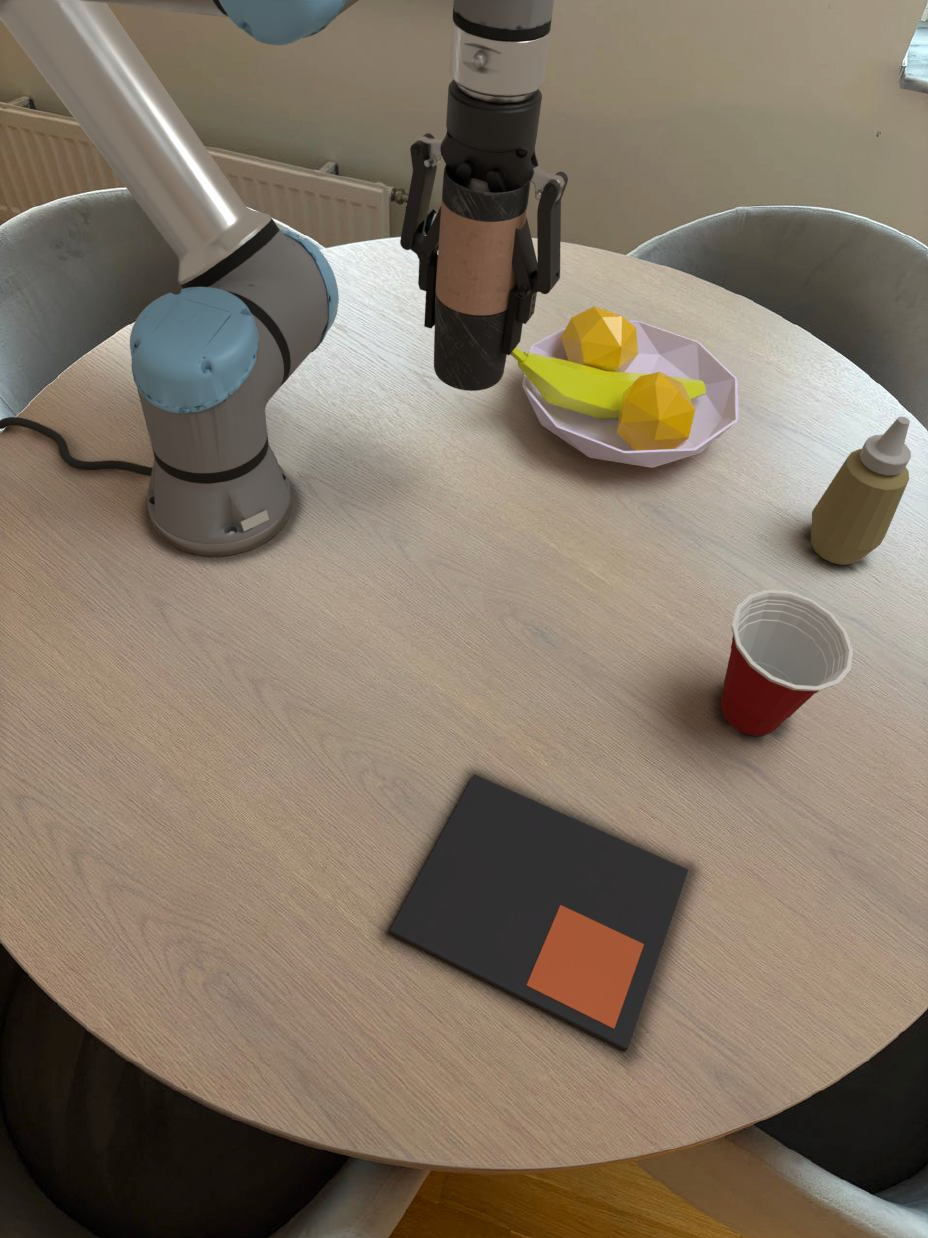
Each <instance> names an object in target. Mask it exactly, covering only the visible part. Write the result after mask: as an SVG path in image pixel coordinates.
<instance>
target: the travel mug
mask: <svg viewBox="0 0 928 1238" xmlns="http://www.w3.org/2000/svg"><path fill="white" fill-rule="evenodd" d="M452 180H453V178H452V176H451V174H450V172H449V169H448V167H447V165H446V164H445V166H444V169H443V175H442V190H441V205H440V207H441V218H440V233H439V247H438V261H437V276H436V292H435V325H434V329H433V330H434V332H433V333H434V336H433V338H434V339H433V341H434V342H433V370H434V373H435V375H436V377H437V379H439V380H440V381H441V382H442V383H444V384H446V385H447V386H448V387H451V388H454V389H457V390H460V391H467V392H477V391H484V390H487V389H490V388H493V387H494V386H496V385H498V383H499V382H500V381H501V380H502V378H503V376H504V372H505V367H506V361H507V356H508V355H507V354H504V353H502V351H503V343H504V335H505V327H506V319H507V311H508V303H509V295H510V291H511V290H512V289H513V288H514V286H515V285H516V284H517V281H516V277H515V273H514V269H513V265H512V256H513V248H514V239H515V230H516V228H517V229H522V228H523V226H524V224H525V221H526V216H527V215H528V206H529V197H530V190H531V183H532V182H531V181H529V182H528V183H527V184H526V185H525V186H524V187H521V188H519V189H517V190H514V191H510V192H503V193H491V192H490V191H489V188H488V184H487V182H485V181H482V180H478V179H474V178H471V179H470V181H469V183H468V185H466V186H465V187H464V186H461V185H458V184H456V183H455V182H453V181H452Z"/></svg>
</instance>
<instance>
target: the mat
mask: <svg viewBox="0 0 928 1238" xmlns="http://www.w3.org/2000/svg"><path fill="white" fill-rule="evenodd" d="M461 795H462V796H461V797H460V799H459V800H458V803H457V805H456V806H455V809H454V810H453V812H452V814H451V815H450V817H449V820H448V821H447V824H446V825H445V827H444V829H443V831H442V833H441V834H440V836H439V838H438V839H437V842H436V844H435V845H434V847H433V849H432V851H431V852H430V854H429V856H428V858H427V860H426V862H425V864H424V865H423V867H422V870H421V871H420V873H419V875H418V877H417V879H416V881H415V882H414V885H413V886H412V887H411V890H410V892H409V893H408V895H407V898H406V899H405V901H404V903H403V904H402V906H401V908H400V910H399V912H398V914H397V916H396V917H395V919H394V921H393V923H392V925H391V927H390V929H389V934H390V935H393V936H395V937H396V938H398V939H400V940H402V941H404V942H407V943H408V944H411V945H412V946H414V947H416V948H419V949H421V950H423V951H425V952H426V953H428V954H431V955H432V956H435V958H439V959H440V960H442V961H445V962H446V963H449V964H450V965H452V966H455V967H456V968H459V969H460V970H463V971H465V972H466V973H469V974H470V975H473V976H475V977H476V978H479V979H480V980H482V981H485V982H486V983H489V984H491V985H492V986H495V987H496V988H498V989H500V990H503V991H505V992H507V993H508V994H510V995H513V996H514V997H517V998H519V999H521V1000H522V1001H525V1002H526V1003H528V1004H531V1005H532V1006H534V1007H537V1008H538V1009H541V1010H542V1011H545V1012H547V1013H549V1014H551V1015H552V1016H555V1017H556V1018H559V1019H560V1020H563V1021H564V1022H566V1023H568V1024H571V1025H572V1026H574V1027H577V1028H579V1029H581V1030H583V1031H585V1032H586V1033H588V1034H591V1035H593V1036H595V1037H597V1038H598V1039H600V1040H602V1041H605V1042H606V1043H608V1044H611V1045H613V1046H614V1047H617V1048H619V1049H621V1050H623V1051H624V1052H627V1051H628V1050H629V1047H630V1043H631V1041H632V1038H633V1035H634V1032H635V1029H636V1026H637V1022H638V1021H639V1017H640V1015H641V1011H642V1008H643V1005H644V1002H645V1000H646V996H647V993H648V990H649V988H650V984H651V982H652V979H653V976H654V973H655V970H656V967H657V964H658V961H659V958H660V955H661V952H662V950H663V946H664V944H665V940H666V938H667V935H668V932H669V928H670V926H671V922H672V919H673V916H674V913H675V911H676V907H677V905H678V902H679V899H680V896H681V893H682V890H683V887H684V884H685V881H686V878H687V876H688V872H689V869H688V868H687V867H686V868H685V867H684V866H681V865H679V864H677V863H674V862H673V861H670V860H668V859H665V858H663V857H662V856H658V855H657V854H655V853H652V852H650V851H647V850H645V849H643V848H641V847H639V846H637V845H634V844H632V843H630V842H627V841H625V840H623V839H621V838H618V837H616V836H614V835H611V834H610V833H607V832H605V831H603V830H601V829H599V828H597V827H595V826H592V825H589V824H587V823H585V822H584V821H580V820H578V819H576V818H574V817H572V816H570V815H567V814H565V813H563V812H560V811H558V810H557V809H553V808H551V807H549V806H547V805H545V804H543V803H540V802H538V801H536V800H534V799H531V798H529V797H527V796H524V795H522V794H520V793H518V792H516V791H514V790H511V789H509V788H508V787H507V788H506V787H505V786H502V785H500V784H498V783H496V782H493V781H491V780H489V779H486V778H485V777H481V776H480V775H478V774H475V773H474V774H472V777H471V779H470V781H469V782H468V784H467V787H466V788H465V790H464V792H463V793H462V794H461Z"/></svg>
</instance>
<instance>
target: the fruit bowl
mask: <svg viewBox="0 0 928 1238" xmlns="http://www.w3.org/2000/svg"><path fill="white" fill-rule="evenodd" d="M509 356H511V357H513V358H514V359H515V360H516V362H517V367H519V369H520V370H521V371H522V373H523V378H522V384H521V386H522V388H523V390H524V393H525V394H526V397H527V399H528V400H529V402H530V404H531V405H530V406H531V407H532V409H533V411H534V414H535V415H536V418H537V419H538V422H539V424H540V425H541V426H542V427H544V428H545V429H547V431H549V432H551V433H553V434H554V435H555V436H556V437H558V438H560V439H561V440H562V441H564V442H565V443H567V444H568V445H570V446H572V447H573V448H574V449H576V450H577V451H579V452H581V453H582V454H583V455H585V456H586V457H587V458H589V459H596V460H601V461H608V462H613V463H614V462H615V463H620V464H625V465H626V464H627V465H631V466H638V467H645V468H651V469H653V468H656V467H657V468H658V467H660V466H664V465H667V464H669V463H672V462H676V461H679V460H683V459H686V458H689V457H692V456H693V457H694V456H696V455H699V454H701V453H702V452H704V450H706V449H707V448H708V447H709V446H711V445H712V444H713V443H714V442H715V441H717V440H718V439H719V438H720V437H721V436H722V435H723V434H724V433H726V432H727V431H729V429H730V428H732V427H733V426H734V425H735V424H737V423H738V422H739V385H738V383H739V382H738V379H739V378H737V377H736V376H735V375H734V374H733V373H732V372H731V371H730V370H729V369H728V368H727V367H726V366H724V364H723V363H722V362H721V361H720V360H718V358H716V357H715V356H714V354H712V353H711V352H710V351H709V350H708V348H706V347H705V346H704V345H703V344H702V343H701V342H700V341H698V340H696V339H692V338H689V337H687V336H683V335H681V334H678V333H675V332H672V331H669V330H666V329H663V328H660V327H658V326H654V325H652V324H649V323H646V322H643V321H640V320H627V318H625V317H624V316H622V315H620V314H618V313H615V312H613V311H610V310H607V309H605V308H600V307H597V306H592V307H590V308H587V309H585V310H583V311H582V312H580V313H577V314H576V315H574V316H571V318H570V319H569V322H568V323H567V325H566V326H565V327H563V328H561V329H559V330H557V331H555V332H553V333H551V334H549V335H547V336H546V337H544V338H542V339H540V340H538V341H537V342H535V343H532V344H531V345H530V347H529V351H528V352H527V351H524V352H522V351H521V350H520V349H519V348H518V347H517V346H516V348H515V349H514V350H513V351H512V353H511V354H510V355H509Z"/></svg>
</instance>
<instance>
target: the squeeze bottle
mask: <svg viewBox="0 0 928 1238" xmlns="http://www.w3.org/2000/svg"><path fill="white" fill-rule="evenodd" d="M910 424H911V423H910V419H909V418H908V417H905V416H898V417H897V418H896V419H895V421H894V422H893V423H892V424H890V426H889V427H888V428H887V429H886V431H885V432H884V433H883V434H874V435H871V436H869V437H867V439H866V441H864V444H863V445H862V447H861V448H858V449H856V450H854V451H852V452H850V453H849V455H848V456H847V457H846V459H845V460H844V462H843V463H842V465H841V466H840V468H839V469H838V471H837V473H836V474H835V475H834V477H833V479H832V480H831V482H830V483H829V485H828V486H827V488H826V489H825V491H824V493H823V494H822V496H821V497H820V498H819V500H818V502H817V503H816V505H815V506H814V508H813V509H812V511H811V524H810V525H811V526H810V545H811V547H812V549H813V551H814V552H815V553H816V554H817V555H818V556H819V557H820V558H822V559H824V560H826V561H828V562H829V563H831V564H836V565H840V566H845V565H846V566H847V565H848V566H849V565H853V564H855V563H857V562H859V561H861V560H862V559H864V558H865V557H866V556H867V555H869V554H870V553H871V552H872V551H874V550H875V549H876V548H878V547H880V545H881V544H882V543H883V541H884V539H885V538H886V536H887V533H888V532H889V531H888V530H889V528H890V526H891V524H892V521H893V519H894V516H895V514H896V511H897V509H898V507H899V505H900V502H901V499H902V497H903V495H904V493H905V491H906V488H907V485H908V483H909V481H910V473H909V470H908V468H907V465H908V463H909V462H910V460H911V458H912V453H911V450H910V448H909V447H908V445H907V444H906V443H905V442H906V439H907V435H908V430H909V426H910Z"/></svg>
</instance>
